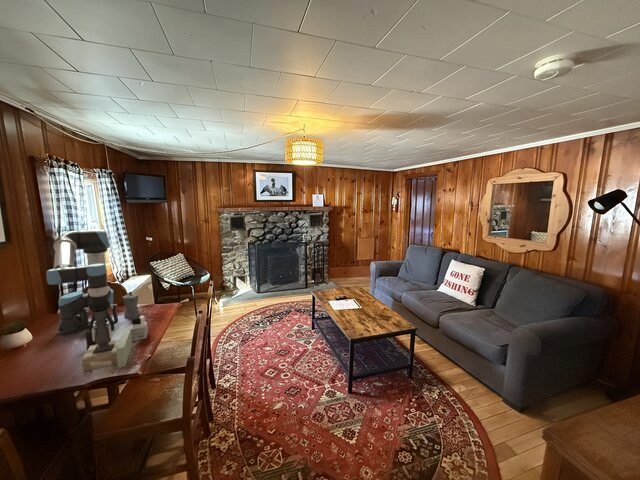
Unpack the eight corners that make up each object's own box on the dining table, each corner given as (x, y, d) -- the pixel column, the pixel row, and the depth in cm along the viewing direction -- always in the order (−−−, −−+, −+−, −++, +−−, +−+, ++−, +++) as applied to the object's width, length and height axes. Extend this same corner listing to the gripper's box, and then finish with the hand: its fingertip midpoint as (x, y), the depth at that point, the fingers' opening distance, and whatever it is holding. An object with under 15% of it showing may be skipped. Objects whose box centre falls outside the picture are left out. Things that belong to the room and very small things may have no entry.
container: (130, 341, 157) (129, 320, 155) (132, 335, 163) (131, 315, 162) (146, 338, 160) (144, 318, 159) (147, 333, 167) (146, 313, 165)
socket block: (91, 356, 140) (90, 345, 140) (123, 350, 147) (123, 339, 146) (83, 370, 128) (81, 359, 127) (118, 363, 135) (118, 352, 134)
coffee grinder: (111, 337, 161) (108, 308, 159) (110, 344, 153) (108, 314, 150) (76, 344, 152) (73, 314, 150) (74, 353, 143) (70, 321, 141)
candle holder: (102, 353, 140) (98, 307, 137) (114, 353, 141) (111, 307, 137) (93, 360, 134) (89, 312, 131) (106, 359, 134) (102, 312, 131)
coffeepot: (141, 317, 190) (140, 292, 188) (125, 320, 184) (123, 295, 182) (137, 310, 201) (135, 287, 199) (121, 314, 195) (120, 290, 193)
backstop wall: (125, 346, 150) (124, 330, 149) (132, 345, 152) (130, 329, 151) (117, 367, 131) (116, 348, 130) (125, 366, 133) (123, 347, 131)
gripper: (71, 300, 125) (76, 346, 128) (120, 294, 134) (124, 337, 137) (76, 295, 132) (81, 339, 135) (123, 290, 141) (126, 331, 144)
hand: (102, 338), depth 136 cm, fingers closed on candle holder, 6 cm apart
